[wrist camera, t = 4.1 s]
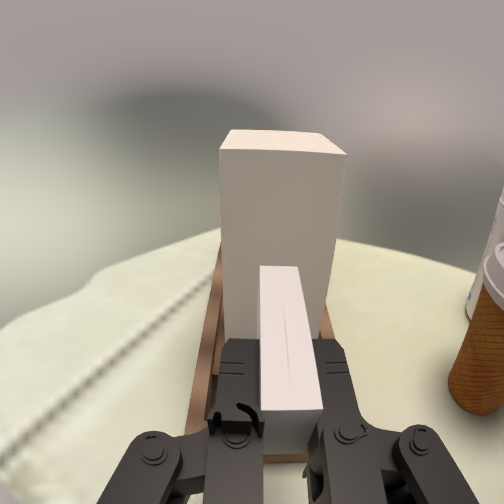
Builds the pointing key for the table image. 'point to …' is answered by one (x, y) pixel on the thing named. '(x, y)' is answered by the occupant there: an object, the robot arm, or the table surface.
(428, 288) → the table surface
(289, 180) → the block
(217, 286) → the trap track
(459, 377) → the disposable coffee cup
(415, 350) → the table surface
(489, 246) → the supplement tub
